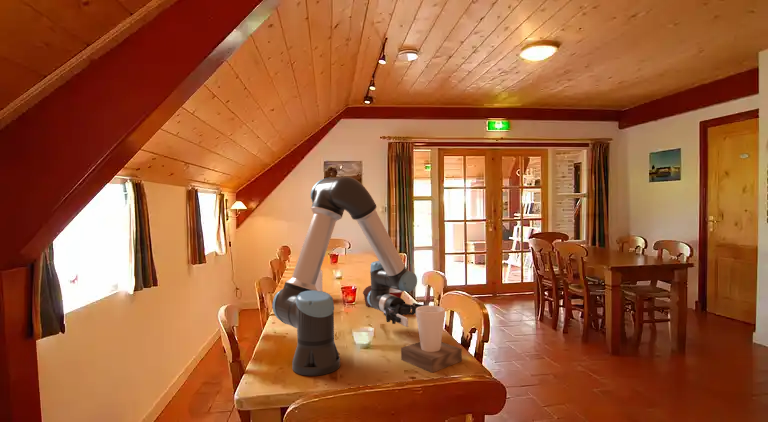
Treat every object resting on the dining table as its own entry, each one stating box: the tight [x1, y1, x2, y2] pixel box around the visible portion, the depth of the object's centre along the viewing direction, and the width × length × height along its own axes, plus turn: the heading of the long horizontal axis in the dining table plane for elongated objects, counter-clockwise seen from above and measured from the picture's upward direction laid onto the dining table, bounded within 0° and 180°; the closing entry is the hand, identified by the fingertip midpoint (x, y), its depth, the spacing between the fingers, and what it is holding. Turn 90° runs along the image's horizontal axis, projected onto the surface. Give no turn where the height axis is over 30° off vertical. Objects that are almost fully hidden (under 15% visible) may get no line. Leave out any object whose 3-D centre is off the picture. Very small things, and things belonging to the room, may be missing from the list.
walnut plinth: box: [400, 341, 463, 373], centre depth 141 cm, size 14×14×4 cm
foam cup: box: [415, 305, 446, 352], centre depth 141 cm, size 10×9×13 cm
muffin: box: [362, 285, 374, 309], centre depth 214 cm, size 12×11×10 cm
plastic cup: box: [390, 288, 404, 299], centre depth 198 cm, size 11×11×12 cm
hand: (424, 319), depth 145 cm, fingers open, 13 cm apart
